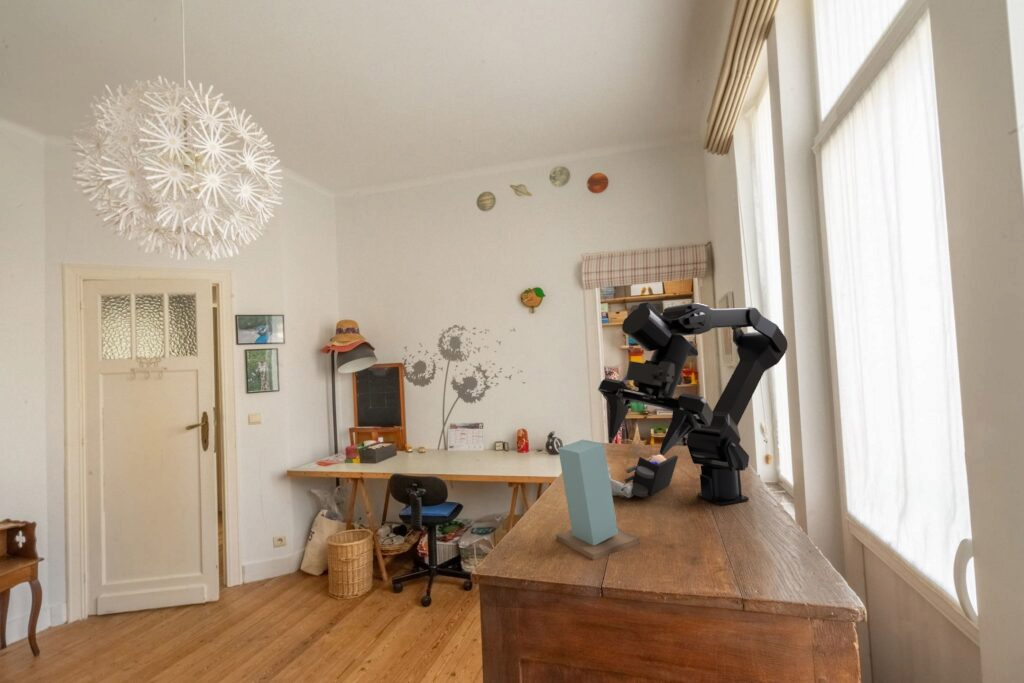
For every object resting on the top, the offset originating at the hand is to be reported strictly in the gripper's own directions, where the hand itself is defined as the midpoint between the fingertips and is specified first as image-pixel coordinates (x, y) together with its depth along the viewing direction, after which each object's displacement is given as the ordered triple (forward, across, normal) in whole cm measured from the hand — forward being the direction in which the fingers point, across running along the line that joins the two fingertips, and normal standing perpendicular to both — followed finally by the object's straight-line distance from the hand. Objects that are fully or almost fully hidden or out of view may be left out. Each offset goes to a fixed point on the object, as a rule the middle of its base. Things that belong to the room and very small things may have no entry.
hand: (635, 445), depth 74 cm
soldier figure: (+6, -9, +19) cm, 22 cm away
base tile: (+17, 0, +1) cm, 17 cm away
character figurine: (+2, -4, +23) cm, 24 cm away
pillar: (+15, -1, 0) cm, 15 cm away
